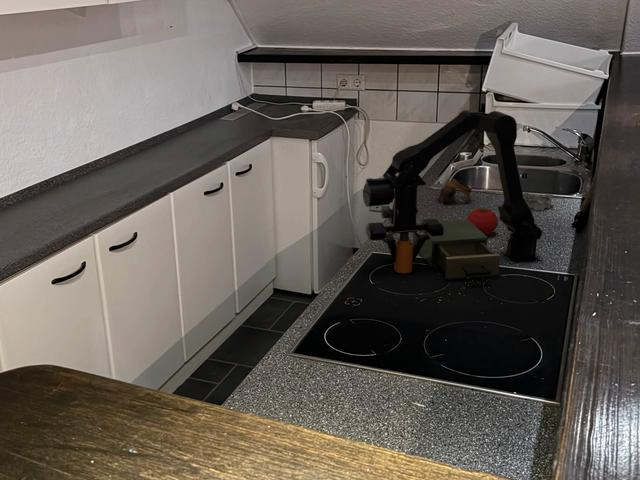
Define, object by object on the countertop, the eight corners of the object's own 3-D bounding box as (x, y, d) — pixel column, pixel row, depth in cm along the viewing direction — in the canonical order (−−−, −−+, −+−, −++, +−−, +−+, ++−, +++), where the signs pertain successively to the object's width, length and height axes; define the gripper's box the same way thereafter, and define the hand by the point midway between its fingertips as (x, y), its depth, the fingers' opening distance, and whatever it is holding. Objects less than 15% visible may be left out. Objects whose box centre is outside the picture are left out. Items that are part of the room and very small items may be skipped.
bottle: (409, 265, 198) (410, 229, 195) (414, 272, 194) (415, 235, 190) (392, 267, 198) (393, 230, 194) (396, 273, 194) (397, 236, 190)
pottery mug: (440, 196, 255) (454, 176, 252) (463, 212, 252) (478, 191, 249) (430, 197, 244) (444, 175, 242) (454, 214, 241) (468, 192, 238)
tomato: (484, 227, 224) (486, 201, 222) (503, 236, 217) (505, 209, 214) (459, 231, 221) (460, 205, 218) (478, 241, 214) (479, 214, 211)
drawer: (505, 281, 185) (507, 261, 183) (451, 285, 184) (453, 265, 182) (479, 255, 201) (480, 236, 199) (429, 258, 200) (430, 239, 198)
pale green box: (485, 262, 199) (487, 237, 196) (431, 266, 197) (432, 241, 195) (466, 243, 212) (468, 219, 210) (415, 247, 211) (416, 222, 208)
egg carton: (554, 207, 240) (555, 195, 238) (538, 212, 236) (539, 199, 234) (526, 199, 248) (527, 187, 247) (511, 203, 244) (512, 191, 243)
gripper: (432, 191, 198) (429, 247, 203) (361, 195, 196) (360, 252, 202) (445, 203, 187) (442, 262, 193) (371, 208, 186) (370, 268, 191)
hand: (403, 260), depth 195 cm, fingers closed on bottle, 5 cm apart
